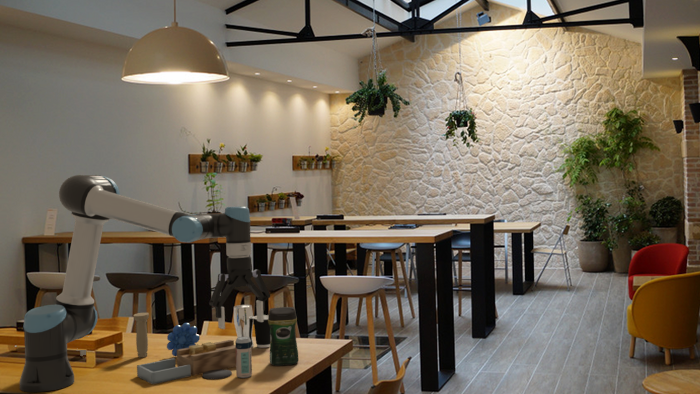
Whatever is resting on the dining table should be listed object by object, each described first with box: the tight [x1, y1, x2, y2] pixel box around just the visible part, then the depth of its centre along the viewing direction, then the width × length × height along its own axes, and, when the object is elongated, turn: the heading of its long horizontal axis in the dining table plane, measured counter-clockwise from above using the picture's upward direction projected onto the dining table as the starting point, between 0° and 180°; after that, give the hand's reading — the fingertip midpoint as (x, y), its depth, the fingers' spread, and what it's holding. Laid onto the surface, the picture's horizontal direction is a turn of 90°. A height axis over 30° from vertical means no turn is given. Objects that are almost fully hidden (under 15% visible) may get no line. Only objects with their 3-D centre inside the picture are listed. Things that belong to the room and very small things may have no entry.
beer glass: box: [233, 304, 255, 348], centre depth 244 cm, size 7×7×15 cm
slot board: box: [176, 339, 236, 376], centre depth 220 cm, size 20×12×6 cm, turn 129°
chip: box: [189, 344, 203, 355], centre depth 216 cm, size 3×4×3 cm
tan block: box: [201, 342, 216, 353], centre depth 219 cm, size 3×4×3 cm
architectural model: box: [75, 349, 86, 357], centre depth 238 cm, size 3×7×7 cm, turn 0°
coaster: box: [202, 369, 233, 380], centre depth 208 cm, size 9×9×1 cm
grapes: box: [166, 322, 201, 357], centre depth 234 cm, size 12×7×12 cm, turn 89°
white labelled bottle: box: [234, 337, 253, 379], centre depth 206 cm, size 5×5×12 cm
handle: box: [133, 312, 150, 359], centre depth 234 cm, size 5×6×15 cm
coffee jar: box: [268, 306, 299, 367], centre depth 221 cm, size 10×8×19 cm
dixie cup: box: [253, 314, 270, 349], centre depth 245 cm, size 8×8×11 cm
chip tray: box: [136, 357, 192, 385], centre depth 209 cm, size 12×12×4 cm
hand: (241, 324), depth 206 cm, fingers open, 13 cm apart
